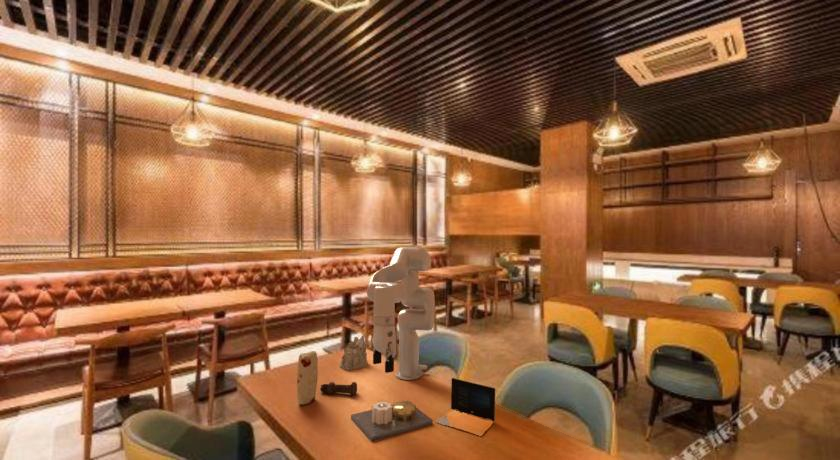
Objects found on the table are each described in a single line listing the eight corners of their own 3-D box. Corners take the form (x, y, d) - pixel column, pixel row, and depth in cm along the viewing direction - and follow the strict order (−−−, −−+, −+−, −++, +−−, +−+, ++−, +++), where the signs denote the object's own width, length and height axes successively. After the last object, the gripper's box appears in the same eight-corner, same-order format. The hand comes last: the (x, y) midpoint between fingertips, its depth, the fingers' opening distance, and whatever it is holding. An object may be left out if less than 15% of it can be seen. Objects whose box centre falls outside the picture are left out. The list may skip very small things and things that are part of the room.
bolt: (322, 396, 169) (356, 397, 166) (317, 394, 164) (352, 396, 162) (324, 381, 172) (358, 383, 169) (320, 379, 167) (354, 381, 165)
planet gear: (386, 413, 146) (386, 399, 146) (395, 421, 140) (395, 407, 140) (368, 417, 143) (368, 404, 143) (377, 426, 137) (377, 412, 137)
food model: (305, 408, 152) (306, 356, 152) (291, 405, 155) (292, 354, 155) (321, 398, 162) (322, 349, 161) (308, 395, 164) (308, 347, 164)
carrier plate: (407, 404, 157) (408, 387, 157) (432, 424, 142) (432, 404, 142) (351, 418, 145) (351, 399, 145) (371, 441, 130) (372, 420, 130)
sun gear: (401, 406, 152) (401, 398, 152) (420, 413, 147) (420, 405, 147) (386, 415, 145) (386, 407, 145) (405, 422, 140) (405, 414, 140)
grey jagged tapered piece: (356, 356, 215) (355, 329, 214) (373, 365, 203) (372, 337, 202) (330, 364, 205) (329, 335, 204) (346, 374, 193) (346, 344, 192)
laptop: (435, 424, 143) (435, 388, 143) (451, 410, 154) (451, 377, 154) (481, 438, 134) (482, 400, 134) (495, 423, 144) (495, 388, 144)
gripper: (404, 324, 136) (404, 373, 136) (382, 314, 151) (381, 359, 151) (385, 326, 132) (384, 377, 132) (364, 316, 147) (363, 362, 147)
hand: (383, 367), depth 142 cm, fingers open, 9 cm apart
